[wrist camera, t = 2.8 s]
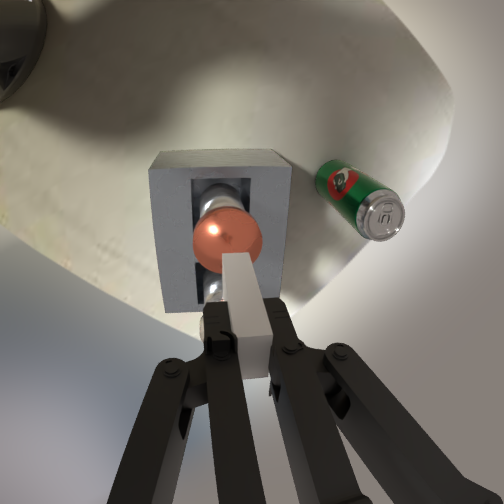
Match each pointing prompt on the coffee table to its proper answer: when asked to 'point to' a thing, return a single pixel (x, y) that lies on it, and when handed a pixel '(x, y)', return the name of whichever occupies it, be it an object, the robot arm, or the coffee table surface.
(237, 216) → the orange light bulb
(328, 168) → the soda can
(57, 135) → the coffee table surface
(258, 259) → the housing
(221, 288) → the white light bulb
